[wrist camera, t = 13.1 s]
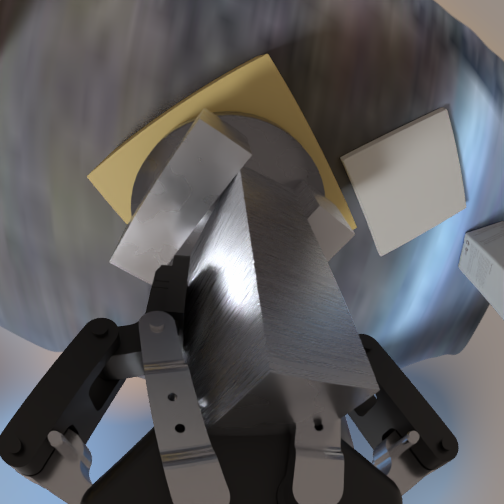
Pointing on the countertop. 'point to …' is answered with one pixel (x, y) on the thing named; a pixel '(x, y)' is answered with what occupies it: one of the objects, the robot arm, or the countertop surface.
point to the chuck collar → (216, 187)
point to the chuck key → (268, 319)
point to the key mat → (407, 180)
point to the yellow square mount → (217, 100)
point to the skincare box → (486, 263)
